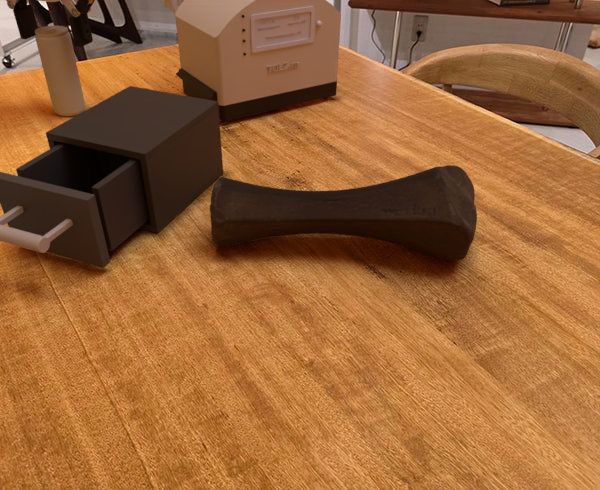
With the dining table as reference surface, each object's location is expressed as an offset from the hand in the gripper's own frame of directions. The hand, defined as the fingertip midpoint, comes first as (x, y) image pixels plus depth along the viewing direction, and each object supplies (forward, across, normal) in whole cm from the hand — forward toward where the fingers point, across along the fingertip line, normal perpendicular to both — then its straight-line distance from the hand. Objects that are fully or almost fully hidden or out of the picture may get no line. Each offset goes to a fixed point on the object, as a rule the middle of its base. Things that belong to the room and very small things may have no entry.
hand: (57, 40), depth 86 cm
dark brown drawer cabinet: (+11, +25, -17) cm, 32 cm away
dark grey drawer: (+10, +25, -29) cm, 39 cm away
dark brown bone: (+11, +51, -19) cm, 56 cm away
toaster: (+11, +20, +20) cm, 30 cm away
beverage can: (+11, 0, 0) cm, 11 cm away
